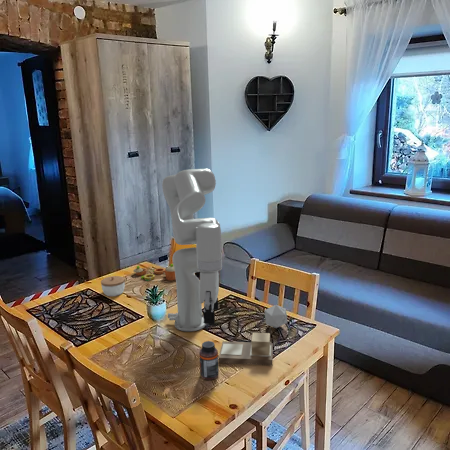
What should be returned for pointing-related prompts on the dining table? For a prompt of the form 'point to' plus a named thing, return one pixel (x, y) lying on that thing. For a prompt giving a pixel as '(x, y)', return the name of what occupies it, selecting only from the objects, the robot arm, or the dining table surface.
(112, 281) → the lidded jar
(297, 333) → the dining table surface
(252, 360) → the base board
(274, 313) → the die
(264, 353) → the oak block
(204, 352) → the supplement bottle
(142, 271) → the cupcakes and donuts
